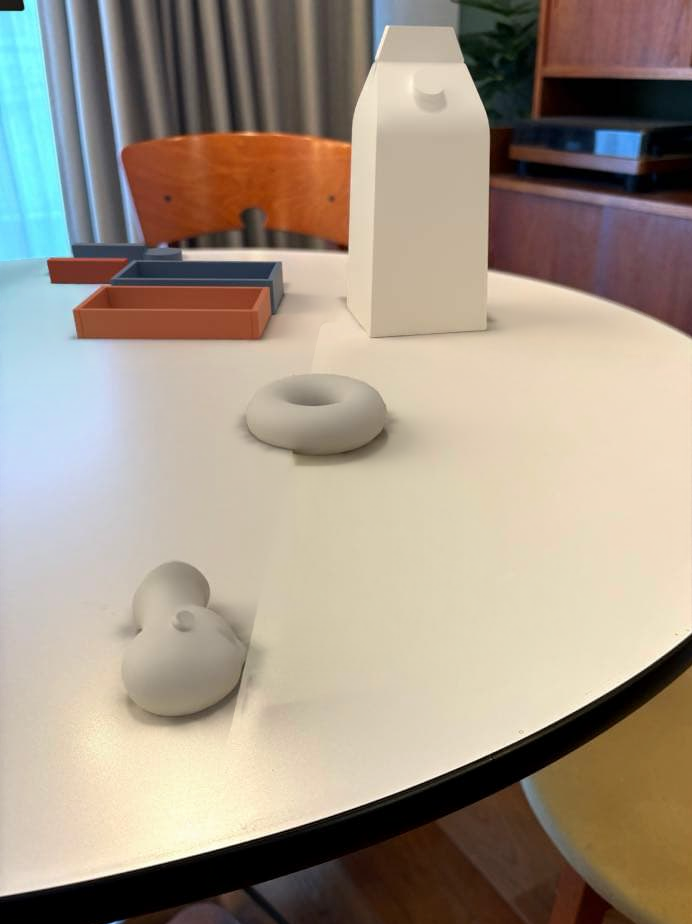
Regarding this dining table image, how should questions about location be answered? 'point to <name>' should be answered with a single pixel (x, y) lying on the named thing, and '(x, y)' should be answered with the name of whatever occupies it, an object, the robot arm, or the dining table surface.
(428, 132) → the milk
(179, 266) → the tray blue
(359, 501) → the dining table surface
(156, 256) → the blue spoon
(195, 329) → the tray red
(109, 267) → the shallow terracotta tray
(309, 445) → the donut
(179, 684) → the pale two-lobed sculpture
